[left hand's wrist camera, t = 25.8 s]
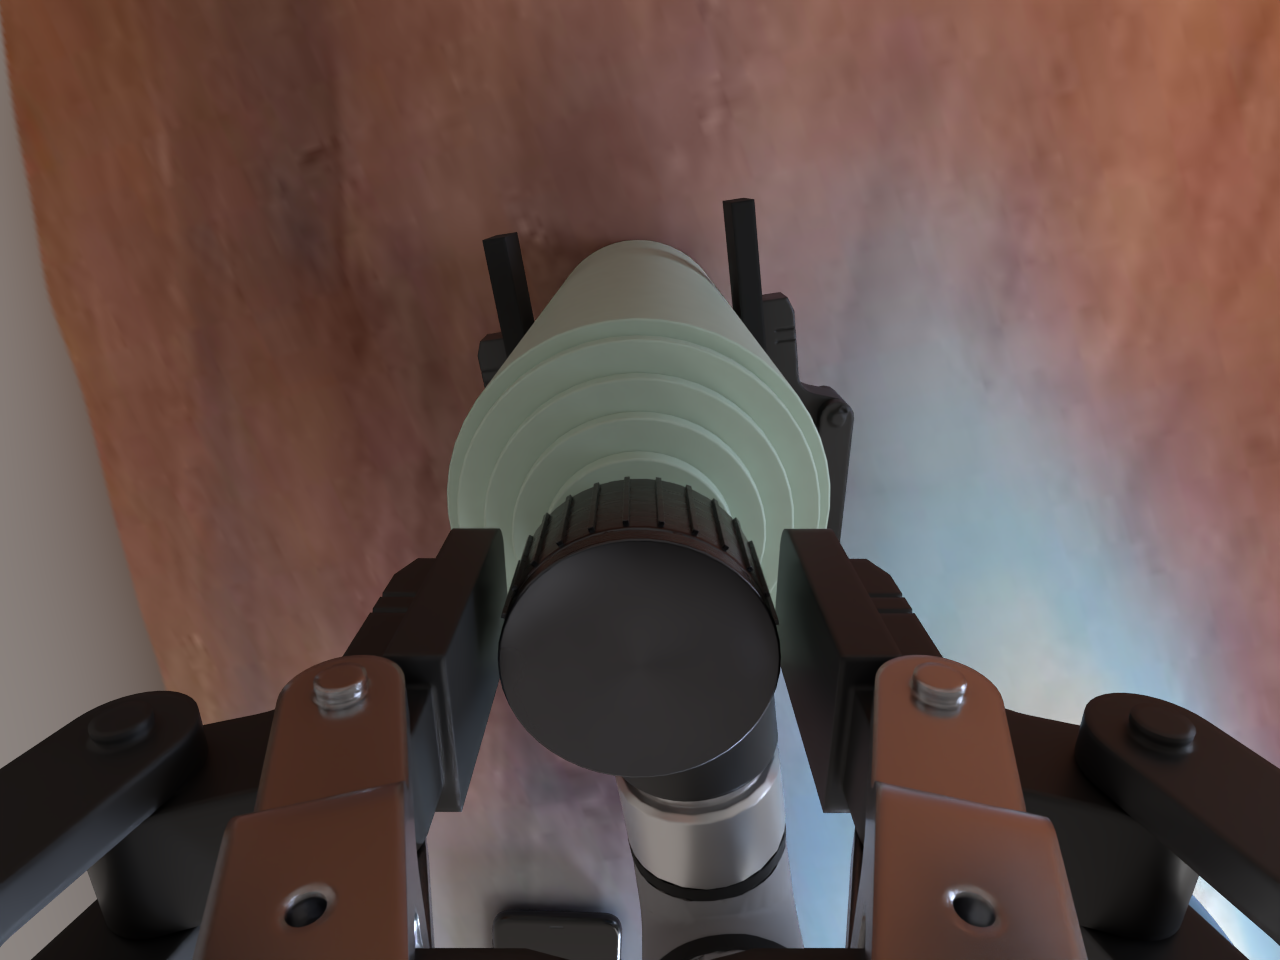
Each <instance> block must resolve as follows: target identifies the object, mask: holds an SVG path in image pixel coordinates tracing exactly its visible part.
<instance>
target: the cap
mask: <svg viewBox="0 0 1280 960" xmlns="http://www.w3.org/2000/svg"><path fill="white" fill-rule="evenodd" d="M501 618H503V619H504V623H503V626H502V630H501V634H500V638H499V642H498V669H499V676H500V680H501V684H502V688H503V691H504V694H505V696H506V698H507V701H508V703H509V705H510V707H511V709H512V710H513V712H514V714H515V715H516V717H517V719H518V720H519V721H520V722H521V724H522V725H523V726H524V728H525V729H526V730H527V731H528V732H529V733H530V734H531V735H532V736H533V737H534V738H535V739H536V740H537V741H538V742H539V743H541V744H542V745H543V746H545V747H546V748H547V749H549V750H550V751H551V752H553V753H555V754H556V755H558V756H560V757H561V758H563V759H565V760H567V761H569V762H571V763H574V764H576V765H578V766H580V767H583V768H586V769H589V770H593V771H596V772H600V773H604V774H609V775H614V776H624V777H654V776H663V775H669V774H674V773H678V772H683V771H686V770H689V769H692V768H695V767H698V766H700V765H703V764H705V763H707V762H709V761H711V760H713V759H715V758H717V757H719V756H720V755H722V754H724V753H725V752H727V751H728V750H730V749H731V748H732V747H734V746H735V745H736V744H737V743H739V742H740V741H741V740H742V739H743V738H744V737H745V736H746V735H747V734H748V733H749V732H750V731H751V730H752V729H753V728H754V727H755V726H756V724H757V723H758V722H759V720H760V719H761V718H762V716H763V715H764V713H765V711H766V709H767V708H768V706H769V704H770V702H771V700H772V697H773V695H774V692H775V690H776V687H777V683H778V678H779V674H780V664H781V650H780V640H779V635H778V631H777V627H776V625H779V620H778V617H777V614H776V611H775V608H774V605H773V601H772V598H771V595H770V592H769V589H768V586H767V583H766V580H765V577H764V574H763V570H762V567H761V564H760V561H759V558H758V555H757V552H756V549H755V546H754V543H753V541H752V540H751V541H748V540H747V538H746V536H745V535H744V533H743V531H742V529H741V526H740V522H739V520H738V519H737V518H736V517H735V518H734V519H733V518H732V517H731V516H730V515H729V514H728V513H727V512H726V511H725V510H723V509H722V508H721V507H720V506H719V504H718V501H717V500H716V499H714V498H713V499H712V500H710V499H709V498H707V497H706V496H704V495H702V494H700V493H698V492H696V491H694V490H692V487H691V486H689V485H686V486H685V487H684V486H681V485H679V484H675V483H671V482H666V481H662V480H661V478H659V477H656V479H655V480H653V479H630V477H624V480H618V481H611V482H608V483H604V484H599V482H598V483H594V486H593V487H592V488H589V489H587V490H584V491H582V492H580V493H578V494H577V495H575V496H573V497H572V496H571V495H569V496H567V497H566V500H565V502H564V503H562V504H561V505H560V506H558V507H557V508H556V509H555V510H554V511H553V512H552V513H551V514H548V513H546V514H545V515H544V516H543V520H542V523H541V525H540V526H539V527H538V529H537V530H536V532H535V533H534V535H533V536H531V535H529V536H528V538H527V540H526V544H525V547H524V550H523V553H522V557H521V560H518V563H517V566H516V570H515V573H514V576H513V579H512V582H511V585H510V589H509V592H508V595H507V598H506V601H505V604H504V608H503V611H502V614H501Z"/></svg>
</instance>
